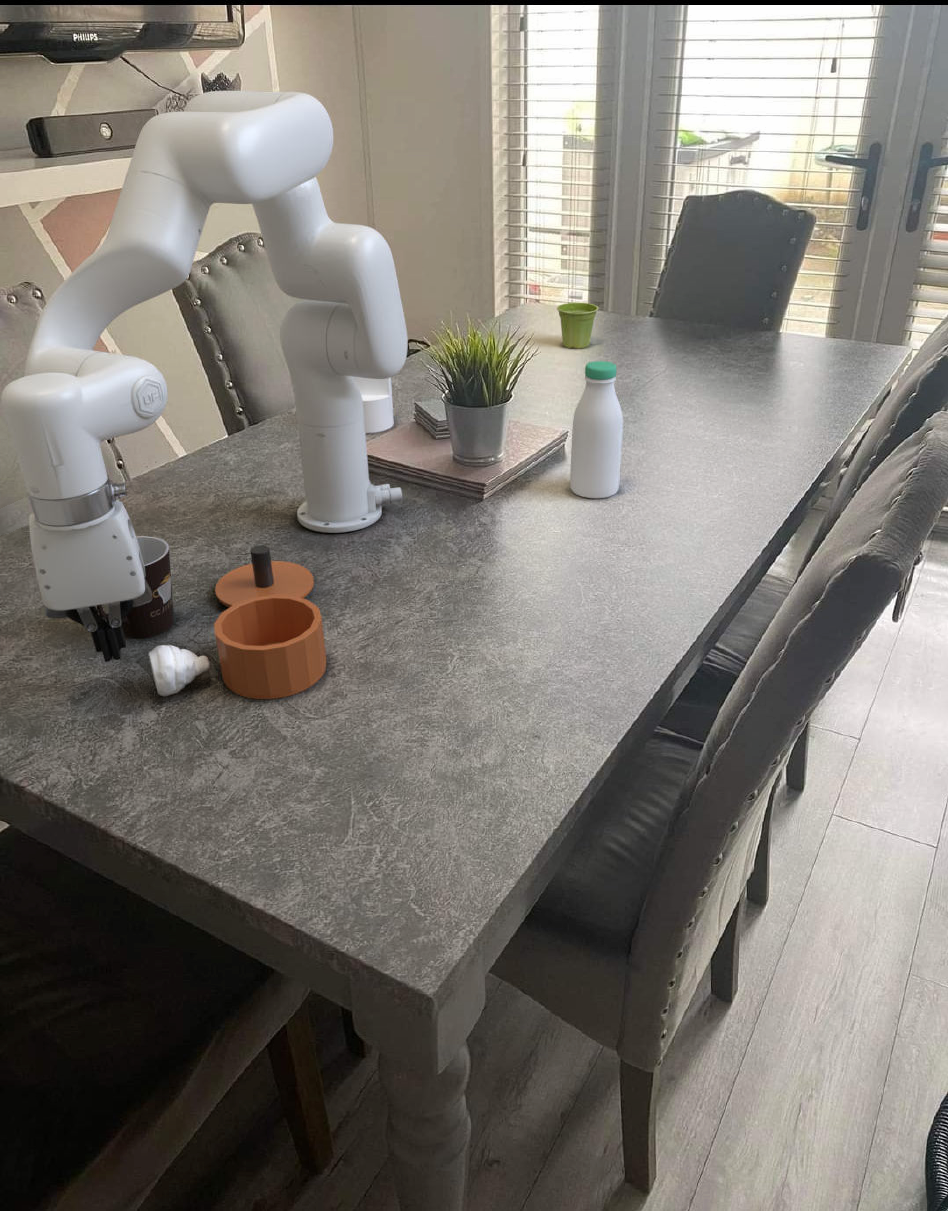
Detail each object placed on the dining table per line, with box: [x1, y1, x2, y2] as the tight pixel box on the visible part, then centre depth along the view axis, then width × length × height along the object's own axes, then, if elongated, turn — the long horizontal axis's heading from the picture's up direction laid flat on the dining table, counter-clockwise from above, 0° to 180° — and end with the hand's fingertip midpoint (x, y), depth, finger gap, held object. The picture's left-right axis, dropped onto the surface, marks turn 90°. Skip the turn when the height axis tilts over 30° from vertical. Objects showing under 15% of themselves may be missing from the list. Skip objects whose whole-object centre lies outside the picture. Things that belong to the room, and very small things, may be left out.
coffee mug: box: [96, 535, 175, 640], centre depth 115 cm, size 12×9×10 cm
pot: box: [213, 595, 327, 700], centre depth 108 cm, size 12×12×6 cm
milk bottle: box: [569, 360, 624, 499], centre depth 147 cm, size 8×8×20 cm
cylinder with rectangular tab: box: [352, 376, 395, 434], centre depth 176 cm, size 9×9×12 cm
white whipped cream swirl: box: [148, 644, 210, 697], centre depth 106 cm, size 6×6×5 cm
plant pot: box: [556, 302, 599, 349], centre depth 221 cm, size 9×9×9 cm
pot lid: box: [214, 544, 315, 608], centre depth 124 cm, size 13×13×6 cm
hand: (113, 653), depth 105 cm, fingers closed
